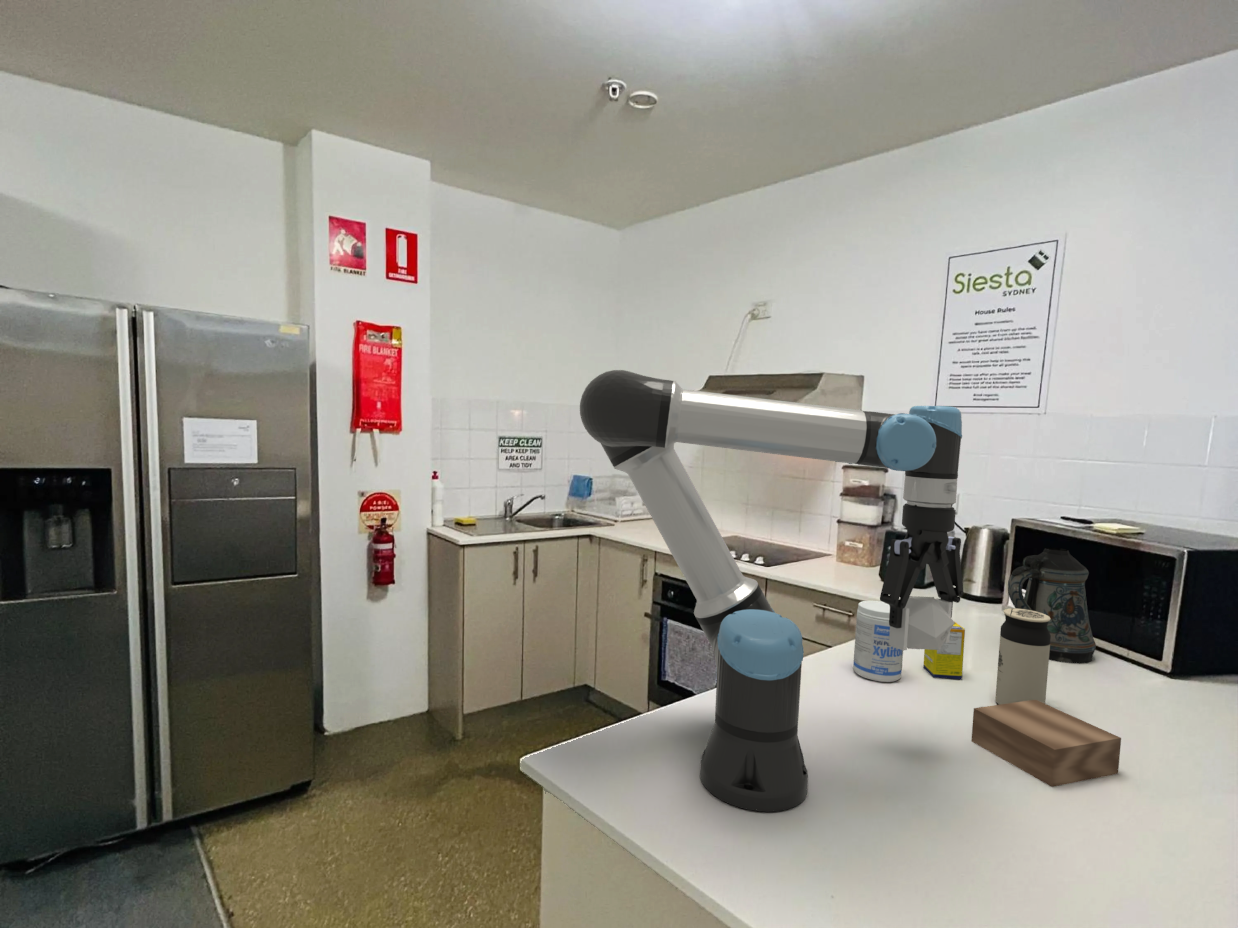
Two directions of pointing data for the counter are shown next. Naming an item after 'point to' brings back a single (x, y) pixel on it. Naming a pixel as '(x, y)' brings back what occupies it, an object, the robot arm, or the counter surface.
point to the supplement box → (947, 656)
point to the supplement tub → (875, 644)
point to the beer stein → (1057, 601)
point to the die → (927, 623)
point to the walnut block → (1046, 742)
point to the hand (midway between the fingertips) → (919, 643)
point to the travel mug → (1023, 657)
